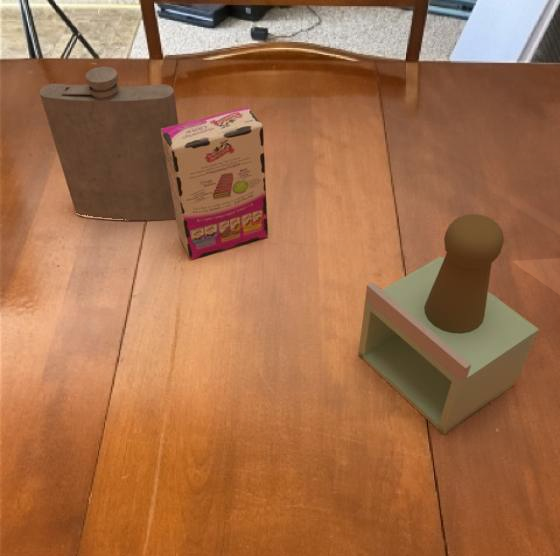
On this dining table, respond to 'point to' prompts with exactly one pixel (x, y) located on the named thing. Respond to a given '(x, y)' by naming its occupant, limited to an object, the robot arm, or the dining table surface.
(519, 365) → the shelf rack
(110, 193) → the hip flask
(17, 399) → the dining table surface
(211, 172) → the candy bar box
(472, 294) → the brown pawn
